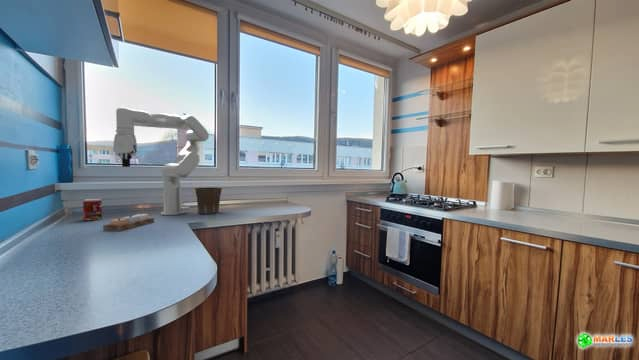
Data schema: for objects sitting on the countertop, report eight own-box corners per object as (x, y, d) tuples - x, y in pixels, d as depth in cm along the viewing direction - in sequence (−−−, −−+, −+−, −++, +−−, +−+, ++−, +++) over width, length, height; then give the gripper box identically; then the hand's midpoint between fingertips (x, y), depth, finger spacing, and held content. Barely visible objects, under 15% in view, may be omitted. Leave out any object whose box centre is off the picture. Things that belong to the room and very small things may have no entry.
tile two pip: (130, 223, 129) (130, 215, 129) (138, 223, 128) (138, 215, 128) (122, 225, 124) (122, 217, 124) (130, 225, 124) (130, 217, 124)
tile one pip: (140, 220, 135) (140, 213, 135) (148, 221, 135) (148, 213, 135) (133, 222, 131) (133, 214, 130) (141, 222, 130) (141, 215, 130)
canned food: (85, 221, 136) (85, 200, 136) (81, 219, 141) (81, 199, 140) (104, 219, 142) (103, 199, 142) (99, 217, 147) (99, 198, 147)
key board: (139, 221, 137) (139, 217, 137) (153, 222, 136) (153, 217, 136) (103, 230, 117) (103, 225, 117) (120, 231, 116) (120, 225, 116)
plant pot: (222, 210, 177) (222, 187, 176) (222, 214, 161) (222, 188, 161) (196, 211, 171) (196, 187, 170) (193, 215, 156) (193, 189, 155)
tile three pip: (118, 225, 123) (118, 217, 122) (127, 226, 122) (127, 218, 122) (110, 228, 118) (109, 219, 118) (119, 228, 117) (119, 219, 117)
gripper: (106, 131, 134) (106, 166, 134) (132, 131, 132) (133, 166, 133) (119, 133, 141) (119, 166, 142) (144, 133, 140) (144, 167, 140)
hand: (126, 166), depth 137 cm, fingers closed
